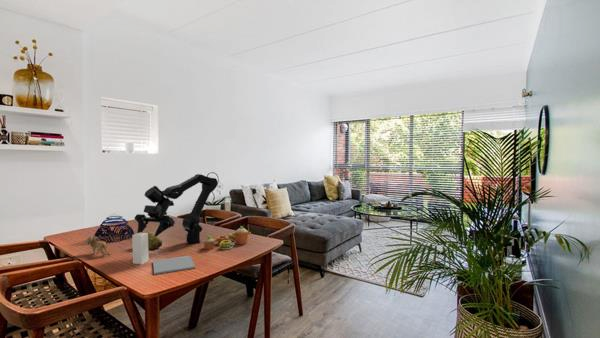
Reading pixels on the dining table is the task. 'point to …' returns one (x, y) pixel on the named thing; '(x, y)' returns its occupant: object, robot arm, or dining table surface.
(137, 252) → the tall block
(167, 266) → the rubber mat
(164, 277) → the dining table surface
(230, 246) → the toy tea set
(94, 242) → the lion figurine
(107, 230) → the decorative bowl
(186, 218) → the robot arm
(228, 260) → the dining table surface
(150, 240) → the potato
